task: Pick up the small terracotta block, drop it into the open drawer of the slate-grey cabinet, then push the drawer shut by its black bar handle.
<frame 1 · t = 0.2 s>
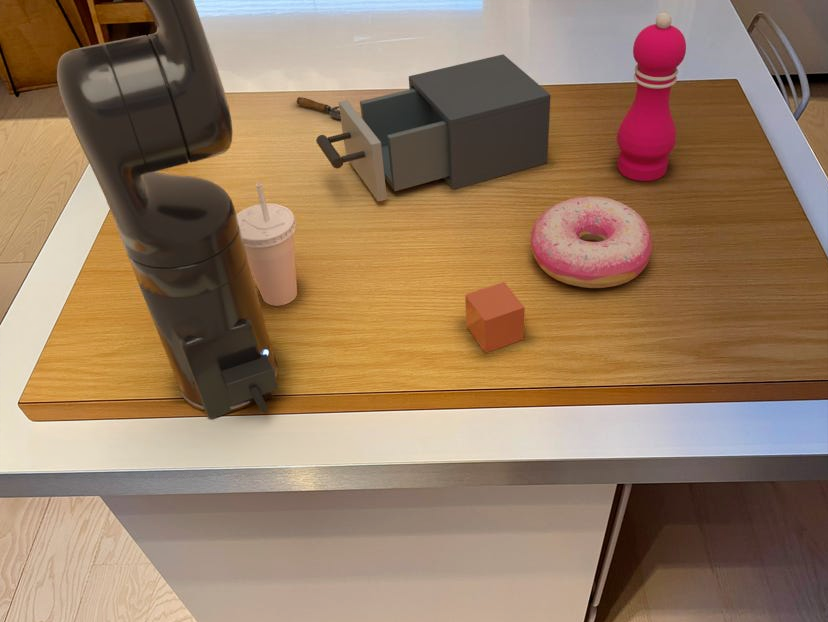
pepper mill: (641, 169, 106), on the kitchen island
smoothie: (280, 295, 89), on the kitchen island
donut: (588, 260, 93), on the kitchen island
cabinet: (479, 153, 109), on the kitchen island
drawer: (389, 143, 102), point 5 cm above the kitchen island, slide at 8.5 cm
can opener: (323, 113, 117), on the kitchen island
block: (494, 333, 84), on the kitchen island
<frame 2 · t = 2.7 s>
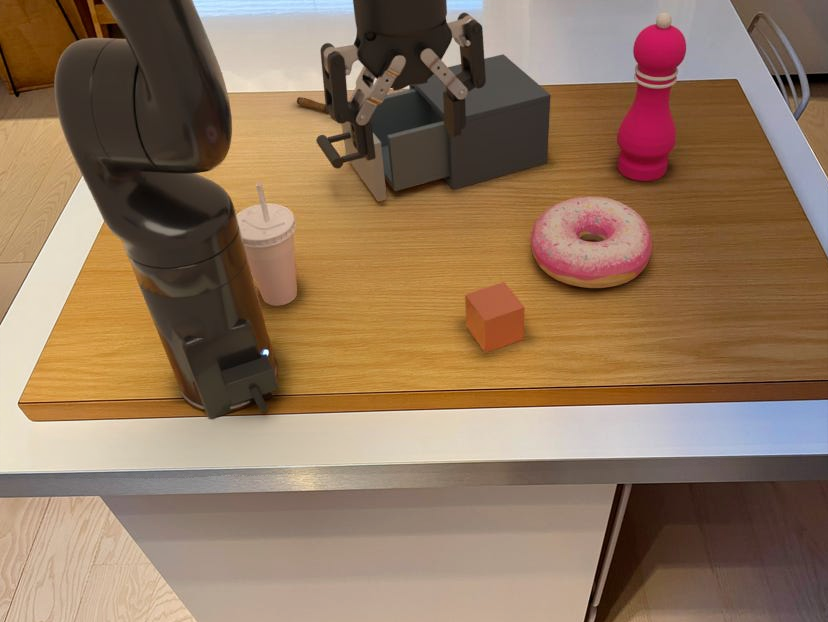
hand: (411, 144, 75), 18 cm above the kitchen island, tool pointing down, fingers open, 8 cm apart
nothing on the kitchen island moved.
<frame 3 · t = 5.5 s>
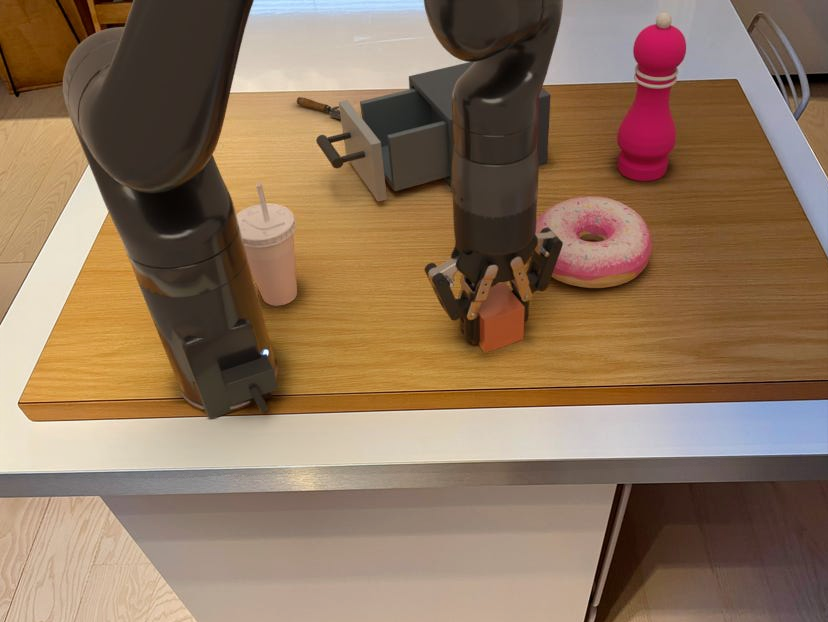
hand: (494, 330, 84), 0 cm above the kitchen island, tool pointing down, fingers closed on block, 4 cm apart
block: (494, 333, 84), on the kitchen island, touching gripper
everything else where it was.
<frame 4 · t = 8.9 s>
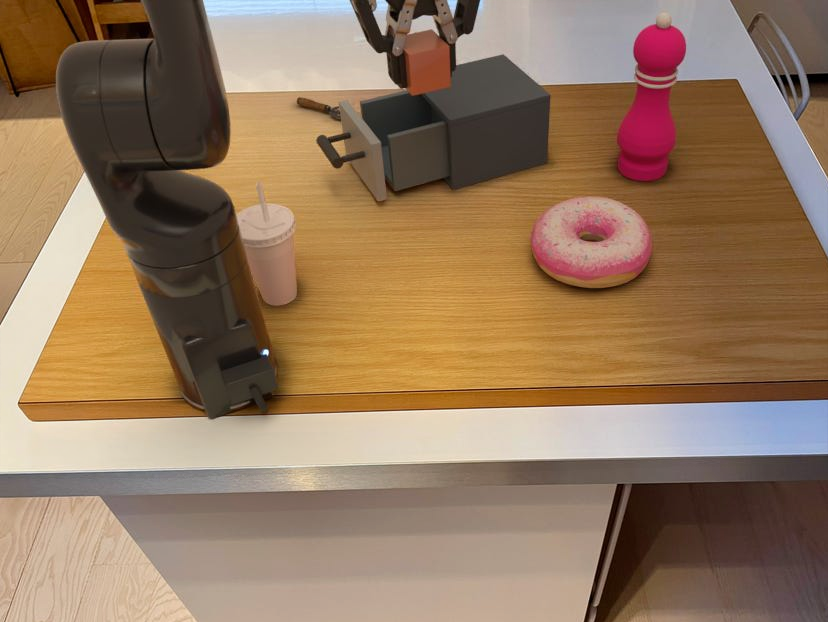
hand: (423, 79, 86), 18 cm above the kitchen island, tool pointing down, fingers closed on block, 4 cm apart
block: (423, 82, 86), point 17 cm above the kitchen island, touching gripper
everything else where it was.
when the fingers open (8 cm above the kitchen island, at t = 12.2 s): block drops 6 cm, resting on drawer.
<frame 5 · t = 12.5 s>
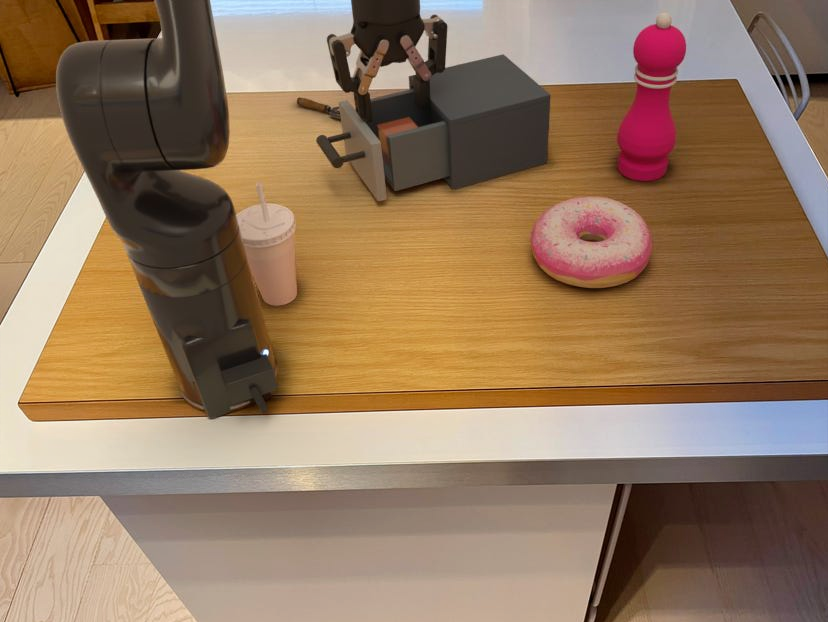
hand: (394, 113, 99), 9 cm above the kitchen island, tool pointing down, fingers open, 6 cm apart
drawer: (389, 143, 102), point 5 cm above the kitchen island, slide at 8.5 cm, touching block
block: (402, 160, 104), point 2 cm above the kitchen island, touching drawer
everything else where it was.
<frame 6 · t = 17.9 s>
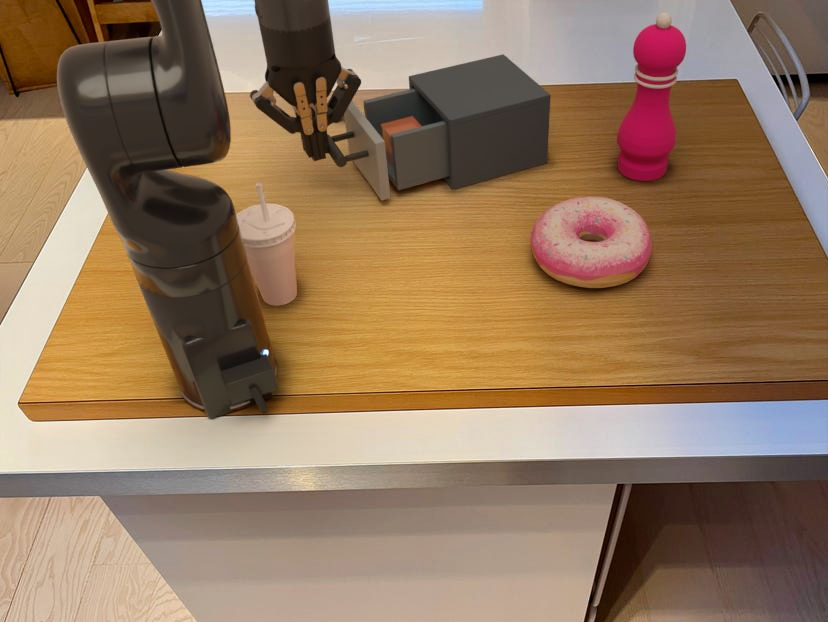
hand: (317, 156, 99), 5 cm above the kitchen island, tool pointing down, fingers closed
drawer: (392, 142, 102), point 5 cm above the kitchen island, slide at 8.0 cm, touching block, gripper
everything else where it was.
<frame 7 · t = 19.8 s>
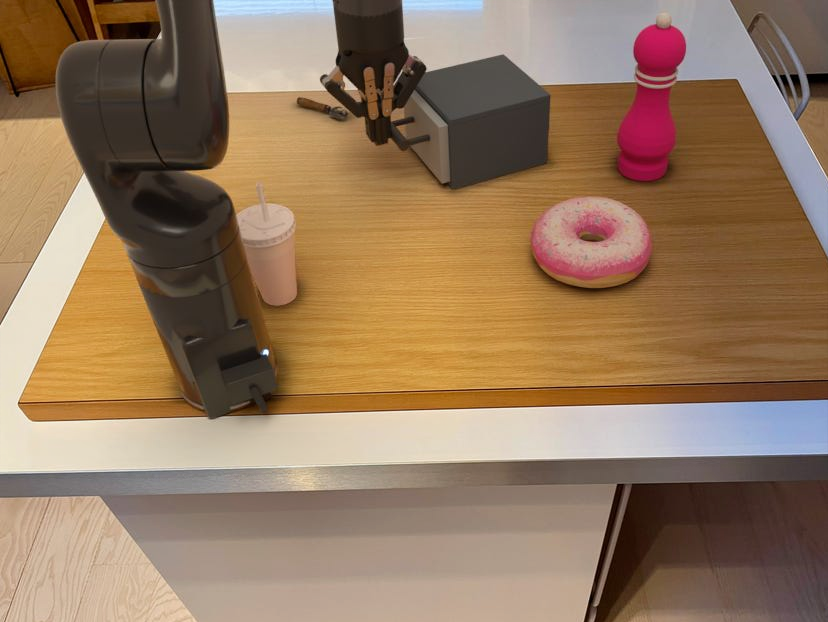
hand: (379, 141, 101), 5 cm above the kitchen island, tool pointing down, fingers closed
drawer: (451, 127, 104), point 5 cm above the kitchen island, slide at 0.0 cm, touching block, cabinet, gripper
block: (463, 143, 107), point 2 cm above the kitchen island, touching drawer
everything else where it was.
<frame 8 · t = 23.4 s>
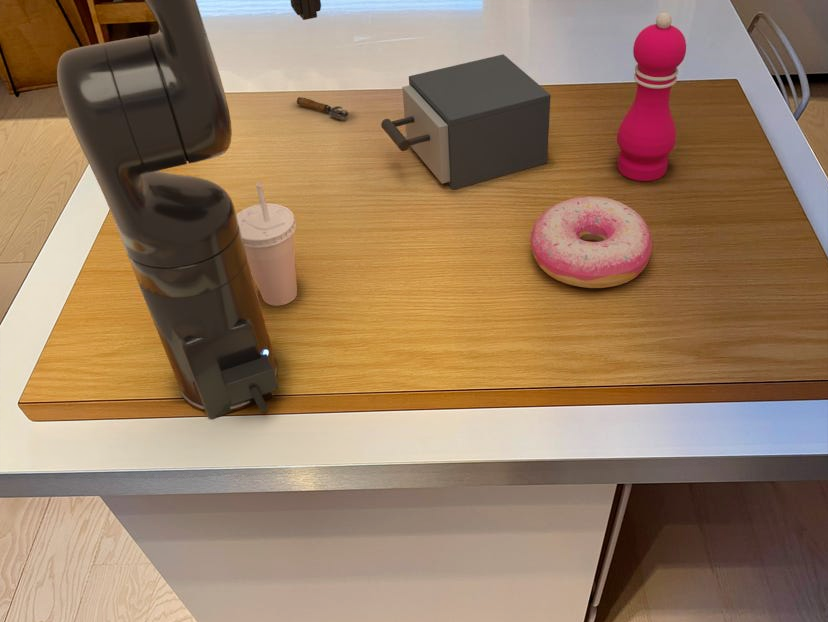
hand: (308, 16, 87), 22 cm above the kitchen island, tool pointing down, fingers closed
drawer: (451, 127, 104), point 5 cm above the kitchen island, slide at 0.0 cm, touching block
everything else where it was.
at the end: block inside the target area in the cabinet (2.3 cm from its centre), point 2.0 cm above the cabinet's base; drawer slide at 0.0 cm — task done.
